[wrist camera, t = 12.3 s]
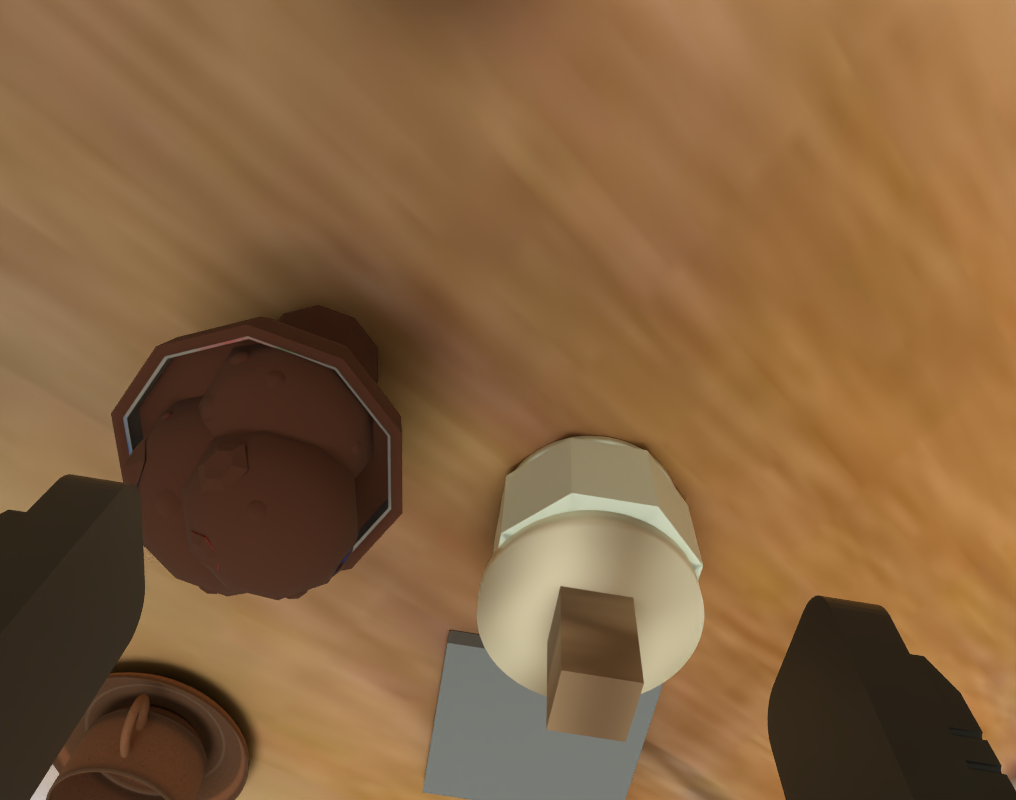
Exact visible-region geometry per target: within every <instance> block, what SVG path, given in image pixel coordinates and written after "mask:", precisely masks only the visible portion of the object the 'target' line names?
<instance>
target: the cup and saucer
mask: <svg viewBox="0 0 1016 800" xmlns="http://www.w3.org/2000/svg"><path fill="white" fill-rule="evenodd" d="M53 765H54V766H55V768H56V769H57V771H58V772H59V773H60V774H59V776H58V777H57V779H56V780H55V782H54V784H53V785H52V787H51V788H50V790H49V792H48V795H47V798H46V800H235V799H236V798H237V797H238V796H239V794H240V793H241V791H242V790H243V787H244V785H245V783H246V779H247V776H248V769H249V754H248V748H247V745H246V742H245V739H244V737H243V735H242V733H241V731H240V729H239V728H238V726H237V725H236V723H235V722H234V721H233V720H232V718H231V717H230V716H229V715H228V714H227V713H226V711H225V710H224V709H222V708H221V707H220V706H219V705H218V704H217V703H216V702H215V701H213V700H212V699H211V698H209V697H208V696H207V695H205V694H203V693H202V692H200V691H199V690H197V689H195V688H193V687H191V686H189V685H187V684H184V683H182V682H179V681H177V680H174V679H171V678H167V677H164V676H159V675H154V674H147V673H137V672H123V673H110V674H109V676H108V677H107V679H106V680H105V682H104V684H103V685H102V687H101V688H100V690H99V691H98V693H97V695H96V696H95V698H94V699H93V701H92V702H91V704H90V706H89V707H88V709H87V710H86V712H85V713H84V715H83V717H82V718H81V720H80V721H79V723H78V725H77V726H76V728H75V729H74V731H73V732H72V734H71V736H70V737H69V739H68V740H67V742H66V743H65V745H64V747H63V748H62V750H61V751H60V753H59V754H58V756H57V758H56V759H55V761H54V762H53Z"/></svg>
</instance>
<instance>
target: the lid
mask: <svg viewBox="0 0 1016 800" xmlns="http://www.w3.org/2000/svg"><path fill="white" fill-rule="evenodd" d="M703 624H704V605H703V600H702V595H701V591H700V587H699V583H698V579H697V575H696V572H695V570H694V568H693V566H692V563H691V562H690V560H689V559H688V557H687V555H686V554H685V552H684V551H683V550H682V549H681V548H680V547H679V546H678V544H677V543H676V542H675V541H674V540H672V539H671V538H670V537H669V536H668V535H666V534H665V533H664V532H662V531H661V530H659V529H658V528H656V527H654V526H653V525H651V524H648V523H646V522H644V521H642V520H640V519H637V518H634V517H631V516H628V515H625V514H620V513H615V512H610V511H600V510H579V511H570V512H564V513H559V514H555V515H551V516H548V517H545V518H542V519H539V520H537V521H535V522H533V523H531V524H529V525H527V526H525V527H523V528H522V529H520V530H519V531H517V532H515V533H514V534H513V535H511V536H510V537H509V538H508V539H507V540H506V541H504V542H503V543H502V544H501V546H500V547H499V548H498V549H497V550H496V551H495V552H494V554H493V555H492V557H491V558H490V560H489V562H488V563H487V565H486V568H485V570H484V572H483V575H482V579H481V582H480V587H479V596H478V604H477V626H478V630H479V635H480V638H481V640H482V643H483V645H484V647H485V649H486V651H487V652H488V654H489V656H490V657H491V659H492V660H493V661H494V662H495V664H496V665H497V666H498V667H499V668H500V669H501V670H502V671H503V672H504V673H505V674H506V675H507V676H509V677H510V678H512V679H513V680H514V681H516V682H517V683H519V684H520V685H522V686H524V687H526V688H527V689H529V690H531V691H534V692H536V693H538V694H541V695H544V696H547V718H546V730H551V731H557V732H564V733H570V734H577V735H583V736H590V737H596V738H603V739H609V740H615V741H622V742H626V739H627V736H628V733H629V730H630V726H631V723H632V720H633V717H634V714H635V711H636V707H637V704H638V701H639V698H640V695H641V694H642V693H645V692H647V691H649V690H651V689H653V688H655V687H657V686H659V685H661V684H662V683H663V682H665V681H666V680H668V679H669V678H671V677H672V676H673V675H674V674H675V673H676V672H678V671H679V670H680V669H681V668H682V667H683V665H684V664H685V663H686V662H687V661H688V660H689V658H690V657H691V655H692V654H693V652H694V650H695V649H696V647H697V644H698V642H699V640H700V637H701V633H702V630H703Z"/></svg>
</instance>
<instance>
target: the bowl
mask: <svg viewBox="0 0 1016 800" xmlns="http://www.w3.org/2000/svg"><path fill="white" fill-rule="evenodd" d="M579 510H600V511H610V512H615V513H620V514H625V515H628V516H631V517H634V518H637V519H640V520H642V521H644V522H646V523H648V524H651V525H653V526H654V527H656V528H658V529H659V530H661V531H662V532H664V533H665V534H666V535H668V536H669V537H670V538H671V539H672V540H674V541H675V542H676V543H677V544H678V546H679V547H680V548H681V549H682V550H683V551H684V552H685V554H686V555H687V557H688V559H689V560H690V562H691V563H692V566H693V568H694V570H695V572H696V575H697V579H699V576H700V573H701V570H702V567H703V563H702V560H701V556H700V552H699V548H698V544H697V540H696V536H695V532H694V528H693V524H692V520H691V516H690V512H689V508H688V505H687V503H686V502H685V501H684V499H683V498H682V496H681V495H680V494H679V492H678V491H677V490H676V488H675V486H674V483H673V481H672V479H671V477H670V476H669V474H668V473H667V471H666V470H665V469H664V467H663V466H662V465H661V464H660V463H659V462H658V461H657V460H656V459H655V458H654V457H653V456H651V455H650V453H649V452H648V451H647V450H643V449H641V448H639V447H637V446H635V445H633V444H631V443H628V442H625V441H623V440H620V439H615V438H611V437H605V436H577V437H570V438H566V439H562V440H558V441H556V442H553V443H550V444H548V445H546V446H544V447H542V448H540V449H538V450H537V451H535V452H534V453H532V454H531V455H530V456H528V457H527V458H526V459H525V460H524V461H523V462H522V463H520V465H519V466H518V467H517V468H516V469H515V471H513V472H512V473H510V474H508V475H507V476H506V481H505V486H504V492H503V495H502V499H501V508H500V513H499V519H498V524H497V529H496V535H495V542H494V551H493V554H494V552H495V551H496V550H497V549H498V548H499V547H500V546H501V544H502V543H503V542H504V541H506V540H507V539H508V538H509V537H510V536H511V535H513V534H514V533H515V532H517V531H519V530H520V529H522V528H523V527H525V526H527V525H529V524H531V523H533V522H535V521H537V520H539V519H542V518H545V517H548V516H551V515H555V514H559V513H564V512H570V511H579Z"/></svg>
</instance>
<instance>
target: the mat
mask: <svg viewBox="0 0 1016 800" xmlns="http://www.w3.org/2000/svg"><path fill="white" fill-rule="evenodd" d="M662 685H663V683H662V684H661V685H659V686H657V687H655V688H653V689H651V690H649V691H647V692H645V693H642V694H641V695H640V698H639V701H638V704H637V707H636V711H635V714H634V717H633V720H632V723H631V726H630V730H629V733H628V736H627V739H626V742H622V741H615V740H609V739H603V738H596V737H590V736H583V735H577V734H570V733H564V732H557V731H551V730H546V718H547V696H544V695H541V694H538V693H536V692H534V691H531V690H529V689H527V688H526V687H524V686H522V685H520V684H519V683H517V682H516V681H514V680H513V679H512V678H510V677H509V676H507V675H506V674H505V673H504V672H503V671H502V670H501V669H500V668H499V667H498V666H497V665H496V664H495V662H494V661H493V660H492V659H491V657H490V656H489V654H488V652H487V651H486V649H485V647H484V645H483V643H482V640H481V638H480V635H478V634H471V633H465V632H459V631H452V630H449V636H448V642H447V648H446V654H445V660H444V666H443V672H442V678H441V684H440V690H439V696H438V702H437V708H436V714H435V720H434V726H433V732H432V738H431V744H430V750H429V756H428V763H427V769H426V775H425V781H424V787H423V792H424V793H431V794H437V795H444V796H451V797H457V798H464V799H471V800H625V799H626V796H627V792H628V789H629V786H630V783H631V780H632V777H633V774H634V771H635V768H636V765H637V762H638V759H639V756H640V753H641V750H642V747H643V743H644V740H645V737H646V734H647V731H648V728H649V725H650V722H651V719H652V716H653V713H654V710H655V707H656V704H657V701H658V698H659V694H660V691H661V688H662Z"/></svg>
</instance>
